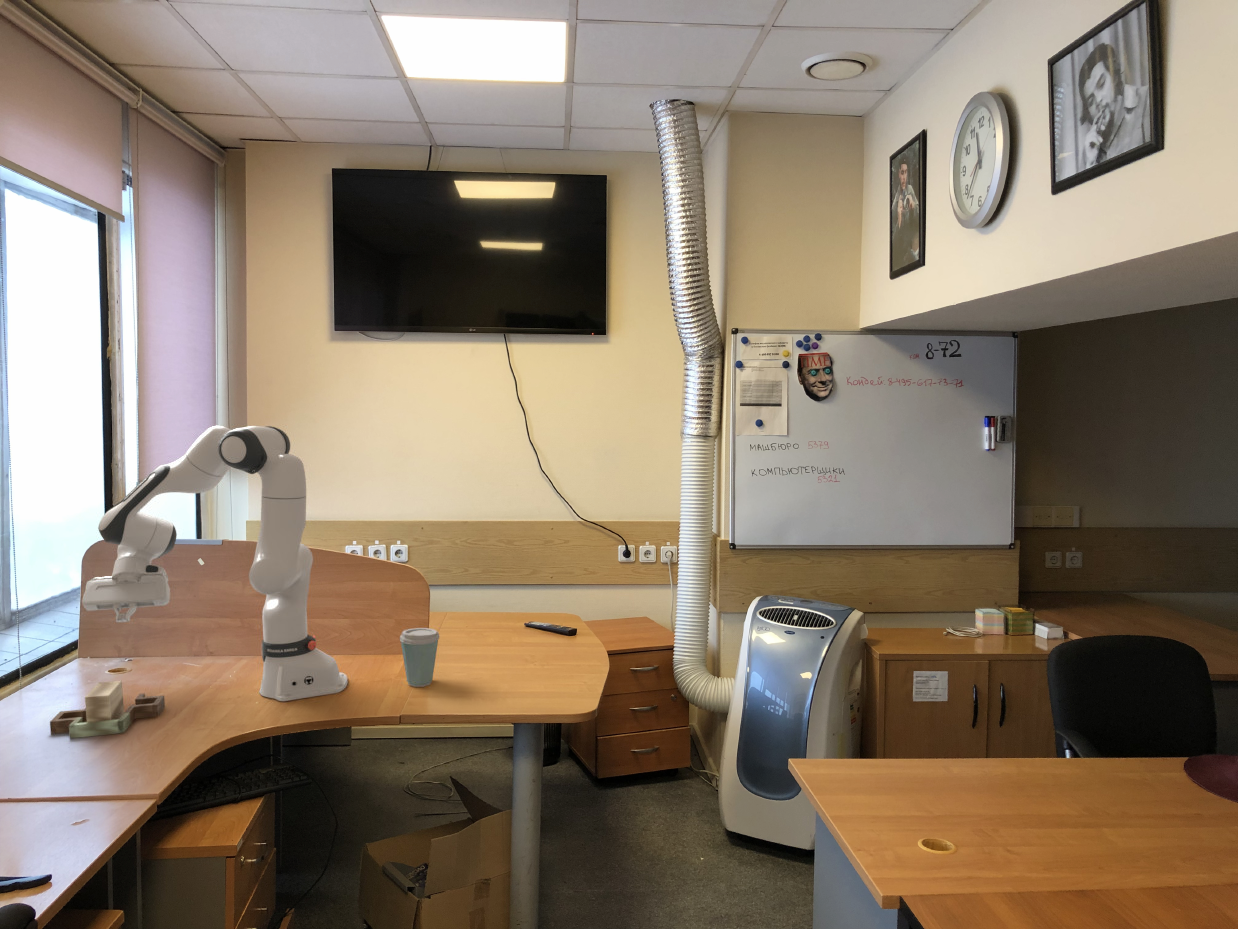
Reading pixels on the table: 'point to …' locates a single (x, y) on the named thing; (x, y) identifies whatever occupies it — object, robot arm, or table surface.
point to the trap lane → (80, 727)
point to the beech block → (105, 702)
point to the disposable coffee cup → (419, 655)
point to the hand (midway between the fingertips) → (122, 621)
